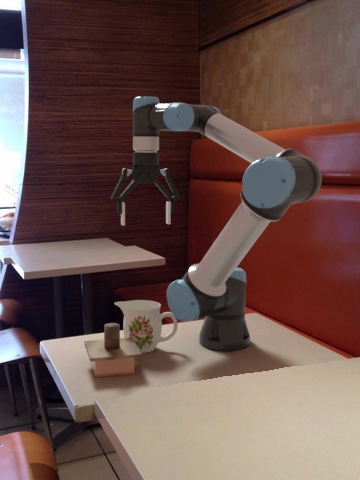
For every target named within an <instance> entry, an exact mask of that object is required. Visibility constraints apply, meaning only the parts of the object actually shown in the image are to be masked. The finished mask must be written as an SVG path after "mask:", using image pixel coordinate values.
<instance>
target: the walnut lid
mask: <svg viewBox="0 0 360 480" xmlns="http://www.w3.org/2000/svg"><path fill="white" fill-rule="evenodd" d="M103 327H104V328H103V329H104V330H103V331H104V332H103V337H104V339H95V340H84V347H85V350H86V353H87V355H88V359H89V362H90V363H91V361H102V360H114V359H125V358H134V359H135V358H142V355H143V353H141V352H140V351H139V349H138V347H137V345H136V344H135V342H134V340H133V338H132V337H131V338H125V337H121V335H120V334H121V331H120V330H121V326H120V324H119V323H118V322H117V323H116V322H108V323H105V324H104V325H103Z"/></svg>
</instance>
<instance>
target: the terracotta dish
mask: <svg viewBox="0 0 360 480" xmlns="http://www.w3.org/2000/svg"><path fill="white" fill-rule="evenodd" d="M90 363H91V368H92V371H93V374H94V377H95V378H105V377H115V376H116V377H117V376H126V375H135V358H125V359H114V360H102V361H91V362H90Z"/></svg>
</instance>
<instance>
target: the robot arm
mask: <svg viewBox="0 0 360 480" xmlns="http://www.w3.org/2000/svg"><path fill="white" fill-rule="evenodd" d="M161 131H162V132H197V133H199V134H200V135H203V136H204V137H206V138H208V139H209V140H212V141H213V142H214V143H216V144H218V145H219V146H222V147H223V148H225V149H227V150H228V151H230V152H232V153H234V154H235V155H237V156H239V158H242V159H243V160H245V161H246V162H249V163H250V164H249V166H248V167H247V168H246V169H245V170H244V171H245V172H244V174H243V176H242V180H241V182H242V184H243V185H242V186H241V192H240V199H241V202H240V204H239V205H238V207H237V209H236V210H235V211H234V213H233V214H232V216H231V217H230V219H229V220H228V222H227V223H226V224H225V226H224V227H223V229H222V230H221V232H220V233H219V235H218V236H217V238H215V240H214V241H213V243H212V245H211V246H210V248H209V249H208V250H207V252H206V253H205V254H204V256H203V258H202V259H201V261H200V262H199V263H194V264H191V266H190V267H189V268H188V270H186V272H185V274H184V275H183V277H182V278H180V279H175V280H174V281H172V282H171V283H170V284H169V285H168V286H167V289H166V300H167V305H168V308H169V310H170V312H171V313H173V314H174V316H175V317H176V319H177V320H180V321H181V322H194V321H197V320H199V319H201V318H202V319H203V318H204V319H203V320H204V321H203V322H202V326H201V328H200V331H199V334H198V335H199V337H198V339H199V341H198V342H199V344H200V345H201V346H202V347H205V348H207V349H211V350H215V351H225V352H230V351H232V352H233V351H239V350H243V349H246V348H248V347H249V346H250V345H251V334H250V331H249V327H248V325H247V321H246V295H247V294H246V293H247V283H248V282H247V274H246V273H247V272H246V271H245V270H244V269H243V268H241V267H238V266H239V265H240V263H241V262H242V260H244V258H245V256H246V255H247V254H248V253H249V251H250V250H251V248H252V247H253V246H254V245H255V243H256V242H257V240H258V239H259V238H260V237H261V235H262V233H264V231H265V230H266V228H267V227H268V226H269V224H270V223H272V222H279V221H280V220H281V219H282V217H283V216H284V215H285V214H286V212H287V210H288V209H289V208H290V207H291V206H292V205H296V204H301V203H305V202H308V201H309V200H312V199H313V198H314V197H315V196H316V195H317V194H318V192H319V191H320V189H321V185H322V180H323V178H322V177H323V176H322V172H321V169H320V167H319V165H318V164H317V163H316V161H314V160H313V159H312V158H310V157H309V156H307V155H306V154H305V155H304V154H303V153H301V152H299V151H298V150H295V149H293V148H287V149H285V148H284V147H282V146H280V145H278V144H276V143H274V142H272V141H270V140H269V139H267V138H265V137H263V136H261V135H260V134H258V133H256V132H254V131H252V130H250V129H249V128H246V126H243V125H242V124H239V123H238V122H236V121H235V120H232V119H230V118H229V117H226V116H225V115H223V113H222V112H221V110H220V109H219V108H218V107H216V106H214V105H213V106H212V105H208V104H188V103H185V102H178V101H176V102H168V103H165V102H164V103H160V99H159V97H158V96H136V97H135V98H133V103H132V150H133V151H134V152H133V153H132V169H129V168H125V167H124V168H122V169H121V176H120V177H119V181H117V184H116V186H115V188H114V191H113V193H112V194H111V196H110V199H111V201H114V202H116V204H117V206H116V207H117V209H116V210H117V214H118V215H120V225H121V226H126V203H125V202H123V201H125V199H126V198H127V197H128V196H129V194H130V193H131V192H132V191H133V190H134V189H135V187H136V186H137V185H138V184H140V185H145V184H147V185H153V184H154V185H156V187H157V188H158V189H159V190H160V191H161V193H162V194H163V195H164V197H165V198H166V199H167V201H165V202H166V203H165V223H166V224H167V225H171V224H172V223H171V214H172V213H175V211H174V210H175V202H176V201H180V200H181V196H180V194H179V192H178V189H177V187H176V186H175V185H176V184H174V181H173V179H172V177H171V172H170V168H162V169H160V154H159V152H158V151H160V132H161ZM130 175H132V176H133V178H132V180H131V181H130V183H129V184H128V185H127V187H126V188H125V189H124V190H123V191H122V188H123V186H124V185H125V182H126V180H127V177H129V176H130ZM160 175H162V176H163V177H164V178H165V181H166V183H167V185H168V187H169V189H170V192H171V193H172V194H171V193H170V192H169V191H168V189H166V187H165V186H164V185H163V184H162V183H161V181H160V180H159V178H158V177H159V176H160ZM121 191H122V193H121V194H120V192H121ZM119 194H120V195H119ZM172 195H173V196H172Z"/></svg>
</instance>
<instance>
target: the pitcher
mask: <svg viewBox="0 0 360 480" xmlns="http://www.w3.org/2000/svg"><path fill="white" fill-rule="evenodd" d="M114 305H115V306H117V307H119V308H120V310H121V311H122V314H123V323H122V325H123V326H122V328H123V329H122V330H123V335H124V338H131V337H132V338H133V340H134V342H135V344H136V345H137V347H138V349H139V351H140V352H141V354H147V353H146V352H149V353H151V352H150V351H152V352H153V351H155V349H156V347H157V346H158V344H159V343H163V342H168V341H169V340H171V339H172V338H173V337H174V336H175V335H176V333H177V331H178V318H176V317H175V316H174V314H173V313H172V312H171V311H165V312H163V313H160V311H161V307H162V304H161V303H160V302H157V301H154V300H146V299H133V300H126V301H125V300H124V301H116V302H114ZM166 317H167V318H171V320H172V322H173V328H172V331H171V332H169V333H168V334H167V335H164V336H162V332H163V331H162V330H163V329H162V328H163V324H162V323H163V322H162V320H163V319H164V318H166Z"/></svg>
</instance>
